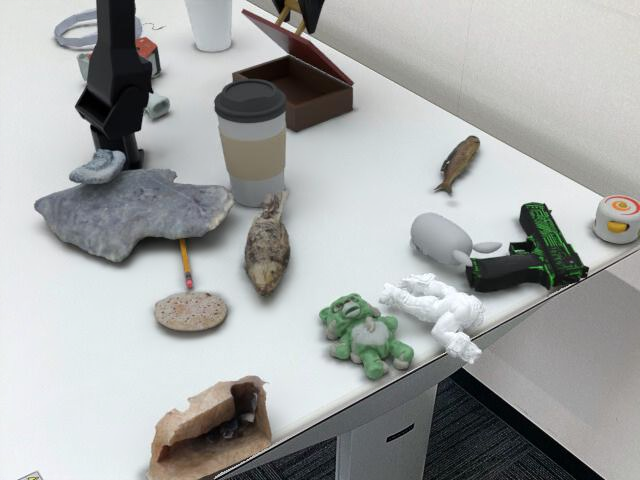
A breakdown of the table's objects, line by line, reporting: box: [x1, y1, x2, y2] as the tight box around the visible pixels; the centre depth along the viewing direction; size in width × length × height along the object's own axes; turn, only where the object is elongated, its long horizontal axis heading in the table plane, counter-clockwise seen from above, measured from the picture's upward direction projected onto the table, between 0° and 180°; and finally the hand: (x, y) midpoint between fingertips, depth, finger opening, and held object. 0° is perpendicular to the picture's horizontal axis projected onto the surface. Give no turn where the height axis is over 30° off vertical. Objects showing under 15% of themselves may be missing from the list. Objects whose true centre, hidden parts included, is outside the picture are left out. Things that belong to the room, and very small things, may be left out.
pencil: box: [179, 238, 193, 288], centre depth 94 cm, size 19×1×1 cm, turn 15°
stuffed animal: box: [318, 292, 415, 380], centre depth 80 cm, size 8×12×4 cm
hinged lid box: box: [231, 54, 354, 133], centre depth 122 cm, size 12×17×4 cm
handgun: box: [464, 201, 590, 294], centre depth 92 cm, size 16×3×15 cm
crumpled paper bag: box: [145, 375, 273, 480], centre depth 69 cm, size 6×12×8 cm, turn 129°
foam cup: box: [183, 0, 233, 53], centre depth 135 cm, size 10×9×13 cm
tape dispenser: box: [75, 36, 171, 119], centre depth 124 cm, size 18×5×20 cm
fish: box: [433, 134, 481, 194], centre depth 107 cm, size 17×4×2 cm, turn 160°
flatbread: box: [154, 291, 228, 332], centre depth 84 cm, size 8×8×1 cm
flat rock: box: [33, 167, 235, 263], centre depth 95 cm, size 18×5×25 cm
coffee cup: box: [213, 79, 287, 208], centre depth 98 cm, size 9×9×15 cm
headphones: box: [53, 3, 166, 48], centre depth 140 cm, size 17×6×20 cm
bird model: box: [243, 189, 291, 298], centre depth 91 cm, size 21×6×5 cm, turn 3°
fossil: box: [68, 149, 126, 184], centre depth 94 cm, size 8×4×5 cm
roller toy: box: [592, 194, 640, 245], centre depth 95 cm, size 4×6×6 cm
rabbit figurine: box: [409, 212, 503, 267], centre depth 90 cm, size 6×5×12 cm
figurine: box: [378, 272, 486, 366], centre depth 82 cm, size 10×5×12 cm
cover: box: [241, 0, 355, 87], centre depth 117 cm, size 12×17×6 cm
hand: (298, 27), depth 116 cm, fingers closed on cover, 6 cm apart
